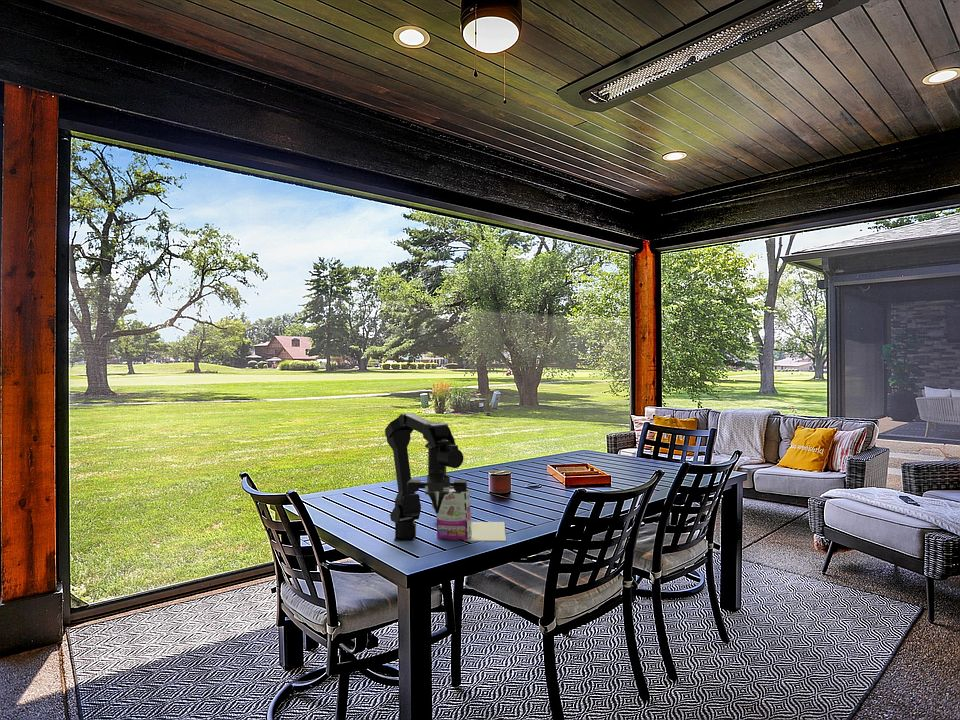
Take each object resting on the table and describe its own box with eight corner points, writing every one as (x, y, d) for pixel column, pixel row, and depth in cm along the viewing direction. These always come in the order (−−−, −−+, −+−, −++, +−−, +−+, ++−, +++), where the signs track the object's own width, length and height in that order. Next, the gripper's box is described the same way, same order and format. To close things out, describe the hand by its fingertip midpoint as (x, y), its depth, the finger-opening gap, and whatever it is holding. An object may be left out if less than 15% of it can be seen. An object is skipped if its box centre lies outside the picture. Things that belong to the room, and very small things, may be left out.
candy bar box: (472, 536, 196) (470, 488, 196) (467, 541, 191) (466, 492, 191) (441, 534, 199) (440, 487, 199) (436, 539, 194) (434, 490, 194)
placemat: (464, 541, 192) (464, 540, 192) (467, 522, 214) (467, 521, 214) (505, 541, 192) (505, 540, 192) (504, 522, 214) (504, 521, 214)
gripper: (404, 468, 171) (404, 520, 171) (466, 468, 171) (466, 520, 171) (408, 461, 182) (408, 510, 182) (467, 461, 182) (467, 510, 182)
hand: (437, 512), depth 179 cm, fingers closed
